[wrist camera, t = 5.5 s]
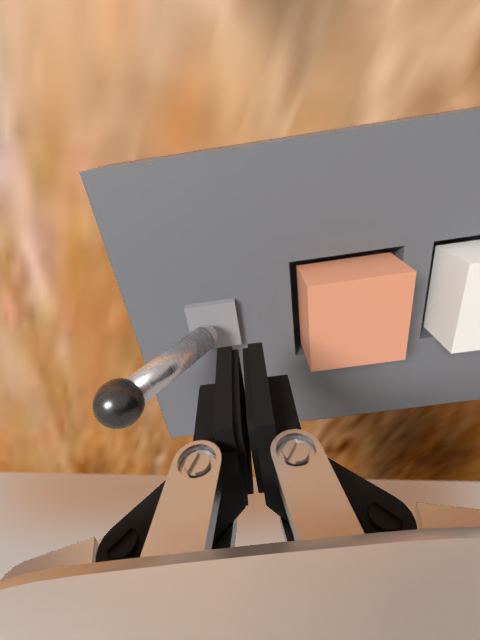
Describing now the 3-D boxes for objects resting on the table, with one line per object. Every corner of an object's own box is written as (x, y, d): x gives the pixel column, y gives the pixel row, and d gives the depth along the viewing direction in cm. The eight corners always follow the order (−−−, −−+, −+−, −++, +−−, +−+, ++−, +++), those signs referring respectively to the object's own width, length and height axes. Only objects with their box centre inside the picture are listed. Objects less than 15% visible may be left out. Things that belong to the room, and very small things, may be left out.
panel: (553, 94, 15) (647, 83, 12) (483, 358, 23) (528, 398, 19) (107, 164, 16) (75, 173, 13) (178, 398, 23) (169, 442, 20)
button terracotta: (390, 252, 16) (416, 271, 13) (383, 331, 18) (405, 359, 16) (296, 265, 16) (307, 286, 14) (300, 342, 18) (310, 371, 16)
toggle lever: (224, 318, 15) (104, 409, 11) (231, 351, 16) (121, 447, 12) (195, 311, 16) (75, 391, 12) (203, 342, 17) (93, 427, 13)
